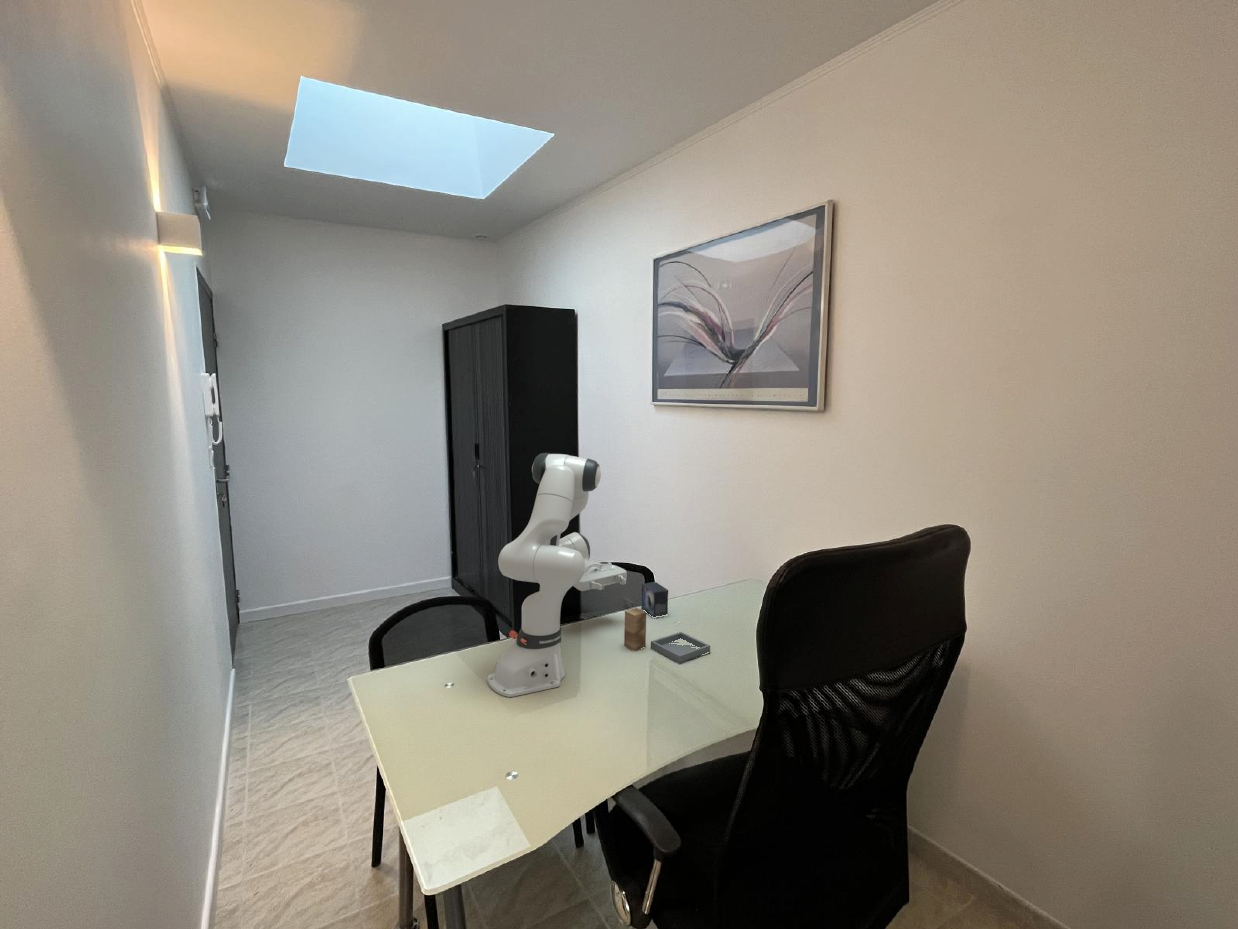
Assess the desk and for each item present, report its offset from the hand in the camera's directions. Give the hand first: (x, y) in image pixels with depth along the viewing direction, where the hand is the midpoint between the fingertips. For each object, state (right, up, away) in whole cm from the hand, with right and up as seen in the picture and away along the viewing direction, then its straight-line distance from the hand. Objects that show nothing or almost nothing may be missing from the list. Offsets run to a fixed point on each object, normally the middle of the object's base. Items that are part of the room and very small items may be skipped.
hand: (613, 584), depth 203 cm
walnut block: (+7, -19, -7) cm, 21 cm away
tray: (+22, -19, -10) cm, 31 cm away
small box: (+15, -15, +23) cm, 31 cm away
